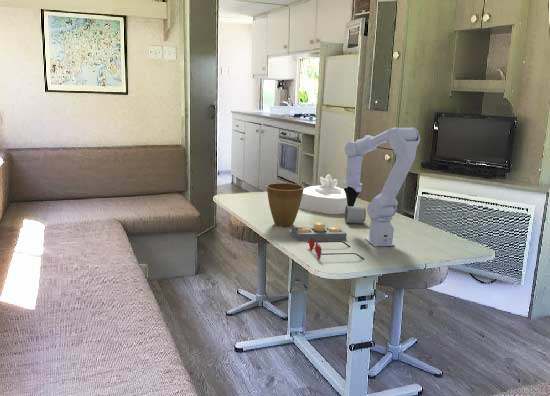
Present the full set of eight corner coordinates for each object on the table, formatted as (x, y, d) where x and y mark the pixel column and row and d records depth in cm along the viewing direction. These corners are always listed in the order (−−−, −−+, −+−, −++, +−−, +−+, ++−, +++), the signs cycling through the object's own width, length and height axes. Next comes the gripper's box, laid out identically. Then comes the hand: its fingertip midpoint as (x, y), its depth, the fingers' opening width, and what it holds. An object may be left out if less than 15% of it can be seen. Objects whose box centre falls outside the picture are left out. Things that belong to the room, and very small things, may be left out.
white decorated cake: (340, 216, 226) (343, 181, 222) (291, 207, 238) (293, 173, 234) (360, 206, 247) (363, 173, 244) (313, 198, 259) (316, 167, 255)
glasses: (306, 248, 179) (307, 234, 178) (350, 247, 183) (351, 234, 181) (317, 262, 166) (318, 247, 165) (364, 260, 169) (366, 246, 168)
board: (346, 239, 191) (346, 233, 190) (297, 240, 186) (297, 234, 186) (335, 229, 203) (335, 224, 202) (289, 230, 199) (289, 224, 198)
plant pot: (294, 219, 216) (296, 182, 213) (306, 228, 202) (309, 189, 199) (260, 220, 211) (262, 182, 208) (271, 230, 198) (273, 190, 194)
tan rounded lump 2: (341, 237, 192) (341, 230, 192) (329, 237, 191) (330, 230, 191) (337, 233, 197) (337, 226, 196) (326, 233, 196) (326, 226, 195)
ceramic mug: (365, 225, 212) (367, 207, 210) (346, 224, 212) (347, 206, 210) (360, 219, 222) (362, 202, 221) (342, 218, 222) (343, 201, 220)
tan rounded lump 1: (326, 232, 191) (326, 225, 190) (315, 232, 190) (315, 225, 189) (322, 229, 195) (323, 222, 194) (311, 229, 194) (312, 222, 193)
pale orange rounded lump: (310, 237, 190) (311, 230, 189) (299, 237, 189) (299, 230, 188) (307, 234, 194) (307, 227, 193) (296, 234, 193) (296, 227, 192)
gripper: (370, 175, 192) (367, 210, 195) (356, 169, 206) (353, 201, 209) (352, 175, 191) (349, 210, 194) (339, 169, 205) (337, 201, 208)
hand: (350, 206), depth 201 cm, fingers closed
